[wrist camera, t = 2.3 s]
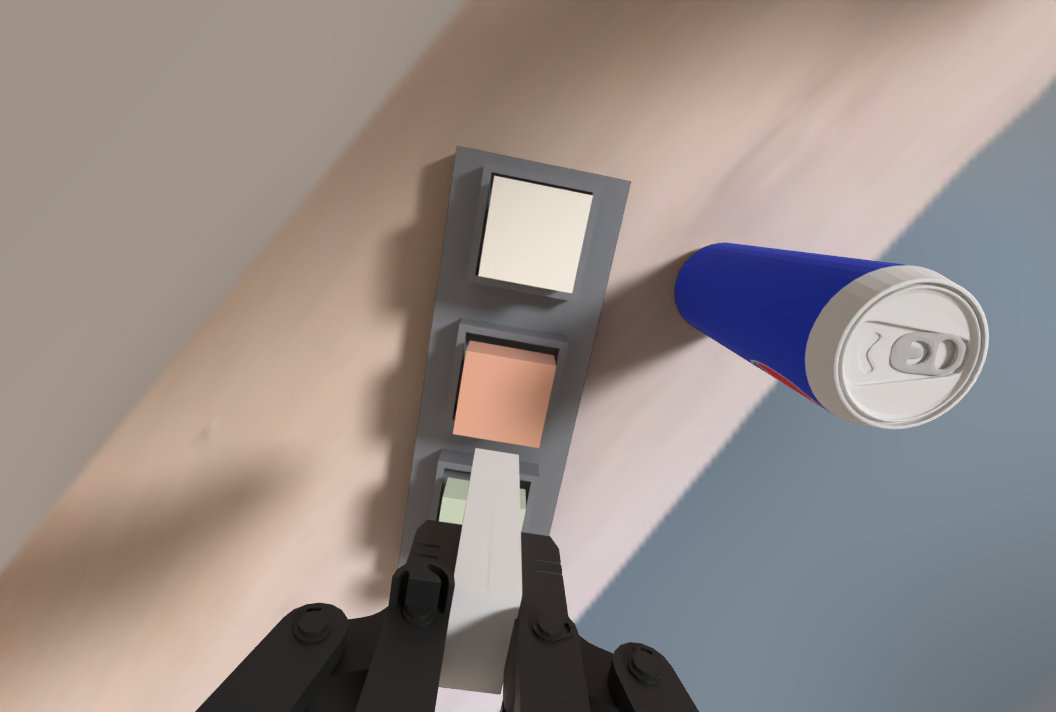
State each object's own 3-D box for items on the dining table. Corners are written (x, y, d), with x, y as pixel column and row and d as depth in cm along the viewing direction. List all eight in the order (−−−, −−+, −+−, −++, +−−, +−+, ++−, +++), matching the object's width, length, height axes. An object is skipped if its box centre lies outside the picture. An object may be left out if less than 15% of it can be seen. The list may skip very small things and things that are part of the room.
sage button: (448, 477, 28) (442, 496, 26) (525, 489, 28) (525, 509, 26) (437, 544, 29) (431, 567, 27) (511, 554, 29) (511, 579, 27)
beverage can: (666, 328, 30) (808, 435, 15) (676, 240, 28) (843, 264, 14) (751, 331, 30) (972, 440, 15) (765, 243, 28) (1024, 271, 14)
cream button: (496, 179, 23) (494, 175, 21) (586, 197, 24) (592, 195, 22) (481, 271, 25) (478, 276, 23) (567, 287, 25) (571, 293, 23)
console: (461, 150, 27) (443, 130, 20) (623, 183, 27) (654, 173, 21) (403, 555, 33) (377, 635, 27) (534, 575, 34) (537, 656, 28)
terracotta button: (470, 340, 25) (466, 350, 24) (553, 355, 26) (556, 366, 24) (457, 418, 27) (452, 433, 25) (537, 431, 27) (539, 448, 25)
